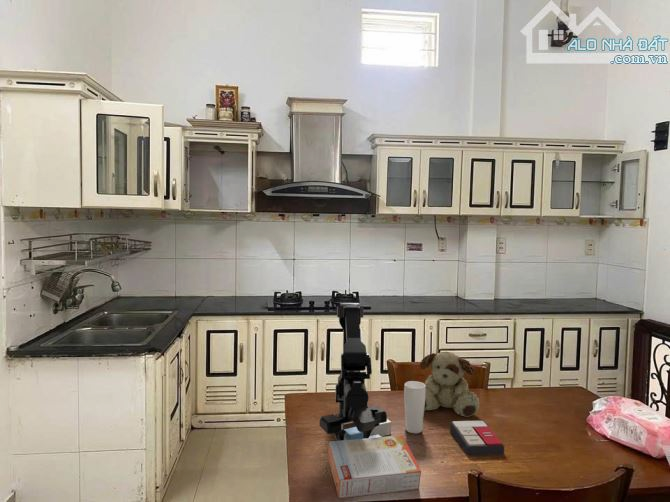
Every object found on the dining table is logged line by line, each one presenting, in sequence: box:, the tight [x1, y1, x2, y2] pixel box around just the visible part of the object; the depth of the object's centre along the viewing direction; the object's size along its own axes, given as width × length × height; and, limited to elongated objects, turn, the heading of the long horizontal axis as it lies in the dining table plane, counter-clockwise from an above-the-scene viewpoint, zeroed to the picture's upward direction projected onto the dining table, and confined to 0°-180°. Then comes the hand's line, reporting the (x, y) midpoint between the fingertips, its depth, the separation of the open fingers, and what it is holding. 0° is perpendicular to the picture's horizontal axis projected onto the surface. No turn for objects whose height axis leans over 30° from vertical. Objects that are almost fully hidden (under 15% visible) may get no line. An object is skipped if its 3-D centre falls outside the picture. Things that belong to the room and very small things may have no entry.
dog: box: [418, 351, 480, 418], centre depth 164 cm, size 23×19×20 cm
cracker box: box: [327, 434, 422, 499], centre depth 116 cm, size 14×6×21 cm
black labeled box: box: [449, 420, 505, 456], centre depth 137 cm, size 11×4×15 cm
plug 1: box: [343, 426, 363, 440], centre depth 126 cm, size 5×4×8 cm
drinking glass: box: [403, 380, 426, 434], centre depth 144 cm, size 7×7×15 cm
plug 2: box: [370, 418, 392, 437], centre depth 142 cm, size 4×8×4 cm, turn 116°
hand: (353, 448), depth 127 cm, fingers open, 7 cm apart
